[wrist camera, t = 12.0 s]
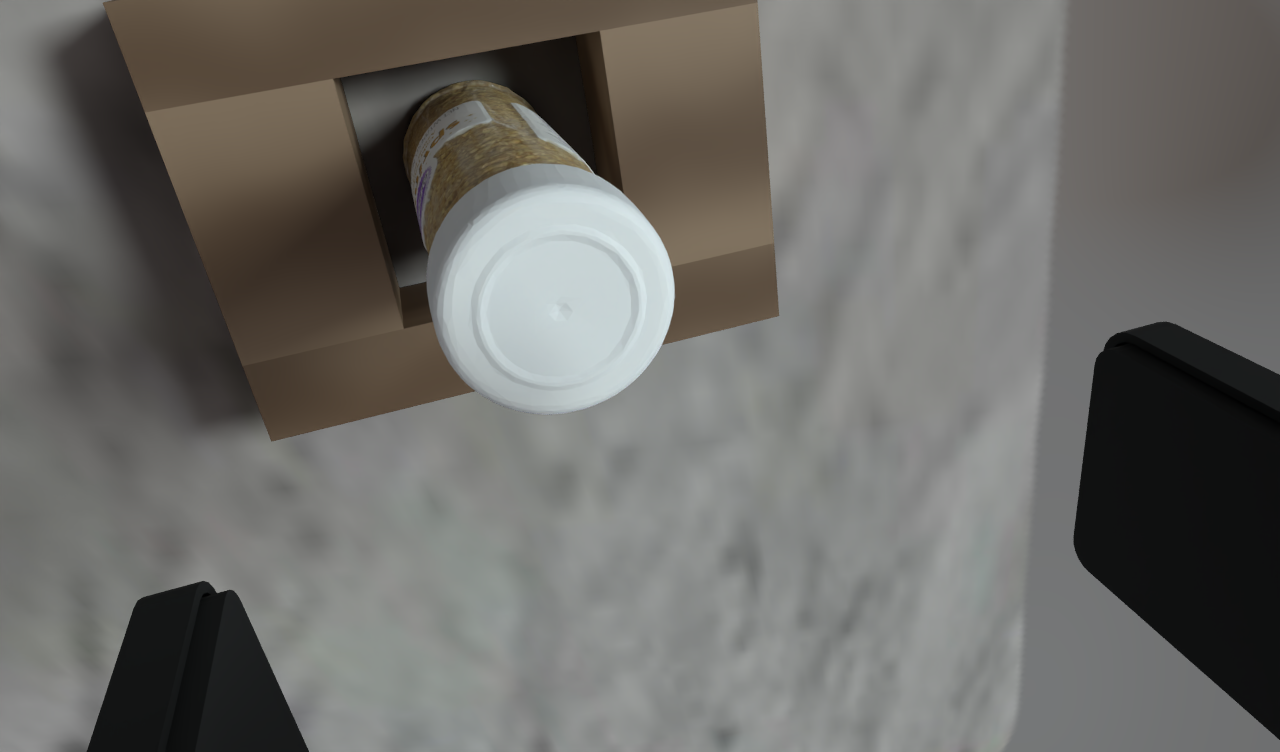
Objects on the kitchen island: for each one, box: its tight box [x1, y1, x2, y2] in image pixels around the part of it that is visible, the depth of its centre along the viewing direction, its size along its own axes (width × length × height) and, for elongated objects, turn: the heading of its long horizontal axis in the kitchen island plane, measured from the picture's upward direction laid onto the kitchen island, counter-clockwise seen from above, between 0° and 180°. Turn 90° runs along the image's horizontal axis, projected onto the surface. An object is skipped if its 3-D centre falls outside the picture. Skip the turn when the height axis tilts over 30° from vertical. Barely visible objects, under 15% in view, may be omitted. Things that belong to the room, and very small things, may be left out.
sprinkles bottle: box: [403, 80, 675, 415], centre depth 22 cm, size 5×5×13 cm
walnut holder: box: [103, 0, 779, 441], centre depth 27 cm, size 12×16×4 cm
